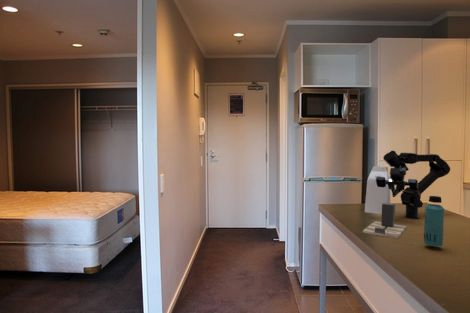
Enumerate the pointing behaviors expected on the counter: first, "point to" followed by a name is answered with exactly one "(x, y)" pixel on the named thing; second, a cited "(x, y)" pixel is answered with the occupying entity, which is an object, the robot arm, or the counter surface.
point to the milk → (376, 191)
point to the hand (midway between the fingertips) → (393, 196)
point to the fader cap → (388, 214)
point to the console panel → (385, 230)
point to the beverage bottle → (434, 223)
